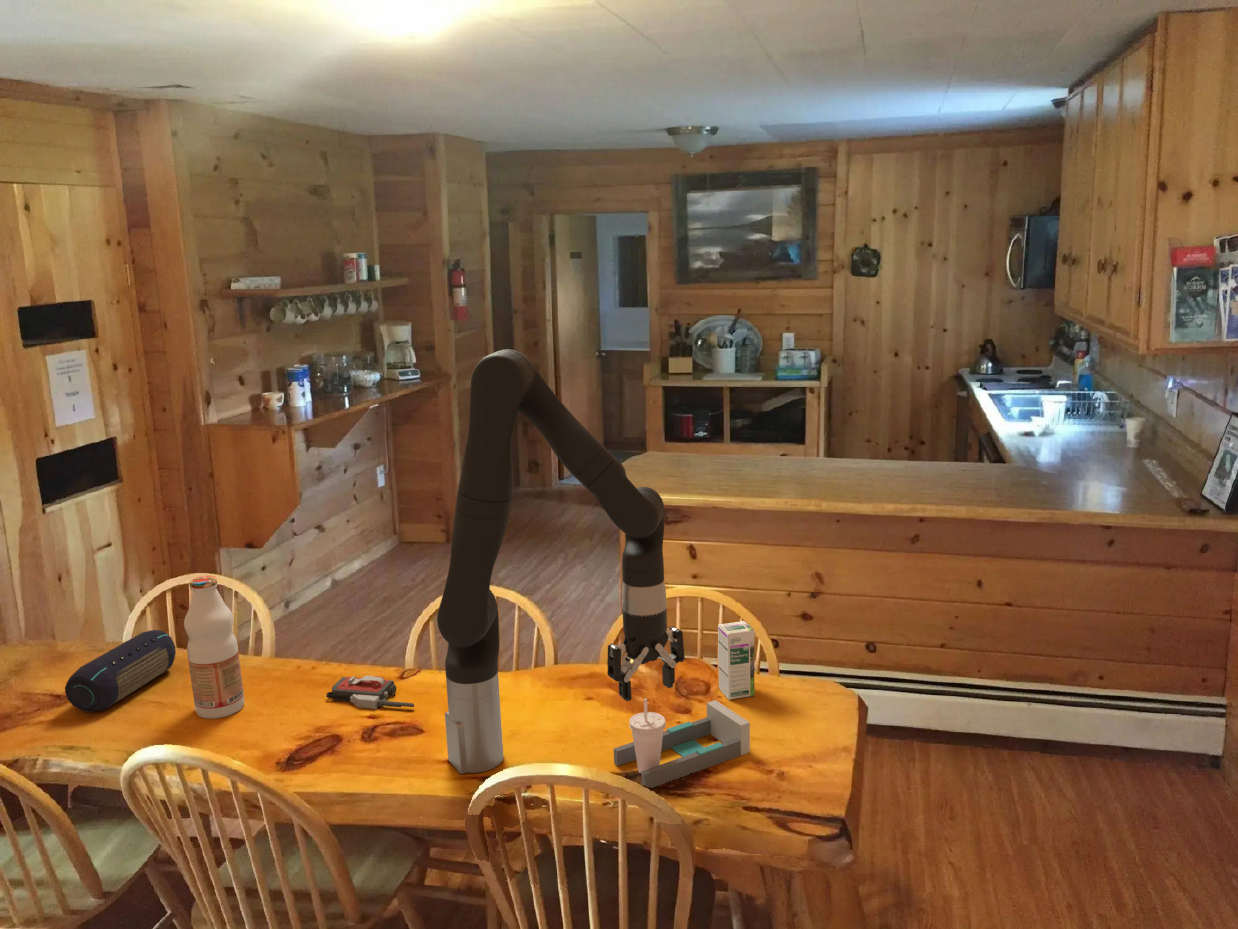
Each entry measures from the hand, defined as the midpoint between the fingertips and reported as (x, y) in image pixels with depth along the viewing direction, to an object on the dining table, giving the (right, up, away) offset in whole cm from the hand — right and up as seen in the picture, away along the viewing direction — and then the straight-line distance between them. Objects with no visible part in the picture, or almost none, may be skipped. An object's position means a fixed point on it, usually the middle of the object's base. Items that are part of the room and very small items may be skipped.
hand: (647, 692), depth 174 cm
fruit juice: (-86, -10, +31) cm, 92 cm away
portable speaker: (-110, -9, +40) cm, 117 cm away
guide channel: (+6, -13, +7) cm, 16 cm away
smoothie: (0, -15, +4) cm, 15 cm away
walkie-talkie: (-55, -9, +33) cm, 65 cm away
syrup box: (+19, -7, +31) cm, 37 cm away
